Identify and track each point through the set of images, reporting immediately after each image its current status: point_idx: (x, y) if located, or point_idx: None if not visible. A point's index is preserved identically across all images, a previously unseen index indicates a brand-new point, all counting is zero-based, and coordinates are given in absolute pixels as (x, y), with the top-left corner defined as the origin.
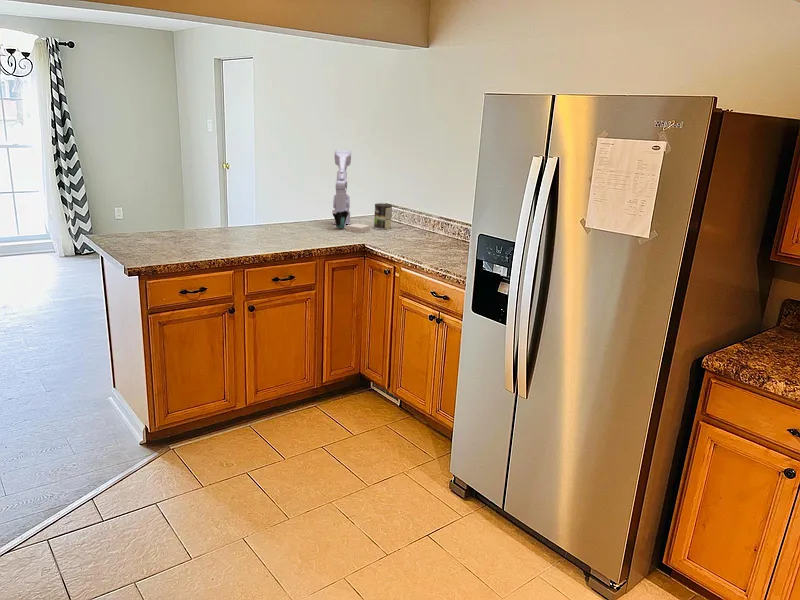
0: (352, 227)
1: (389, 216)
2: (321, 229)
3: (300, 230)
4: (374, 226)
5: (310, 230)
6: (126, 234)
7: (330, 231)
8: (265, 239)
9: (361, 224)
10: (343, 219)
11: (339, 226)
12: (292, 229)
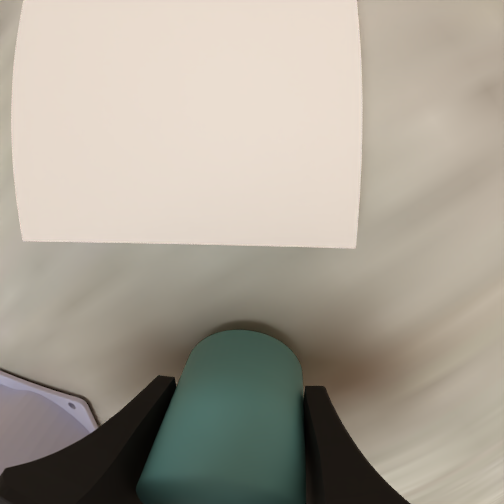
0: (356, 80)
1: None
2: (409, 448)
3: (493, 470)
4: None
5: (480, 453)
6: None
7: (478, 348)
8: None
9: (16, 110)
10: (233, 441)
11: (301, 379)
12: (473, 497)
